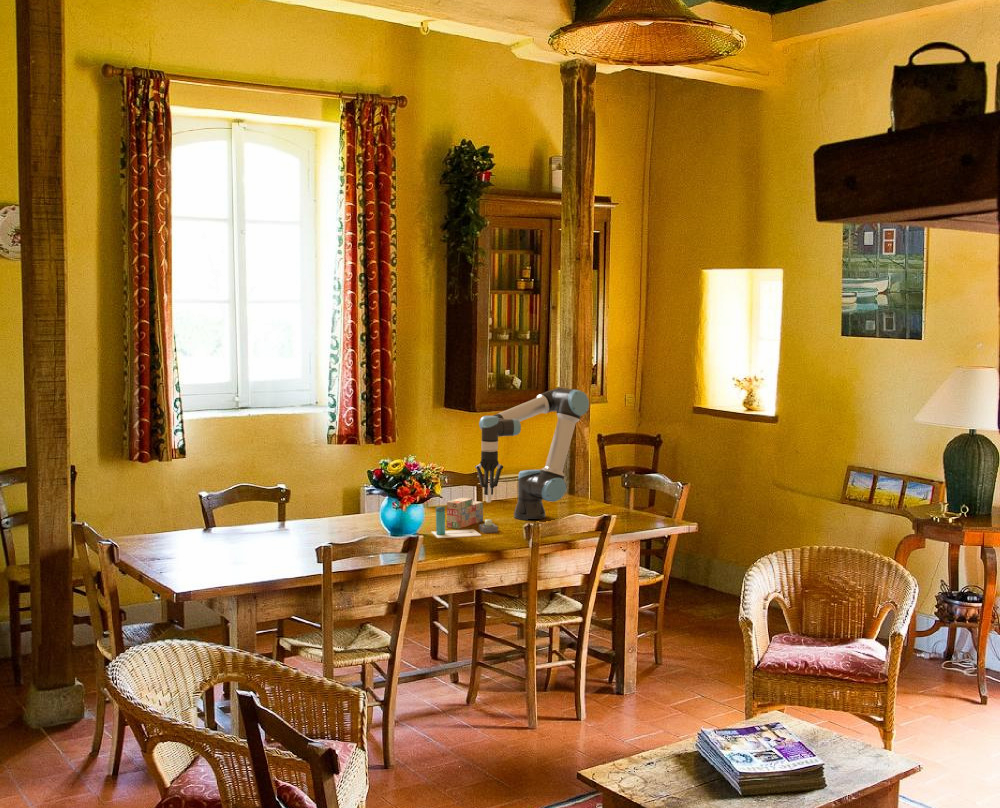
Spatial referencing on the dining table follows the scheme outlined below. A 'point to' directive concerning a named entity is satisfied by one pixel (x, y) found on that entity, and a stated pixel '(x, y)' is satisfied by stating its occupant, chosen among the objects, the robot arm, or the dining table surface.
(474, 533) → the sheet
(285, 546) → the dining table surface
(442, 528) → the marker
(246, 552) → the dining table surface
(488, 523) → the button
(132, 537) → the dining table surface
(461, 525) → the stack of blocks
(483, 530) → the block
